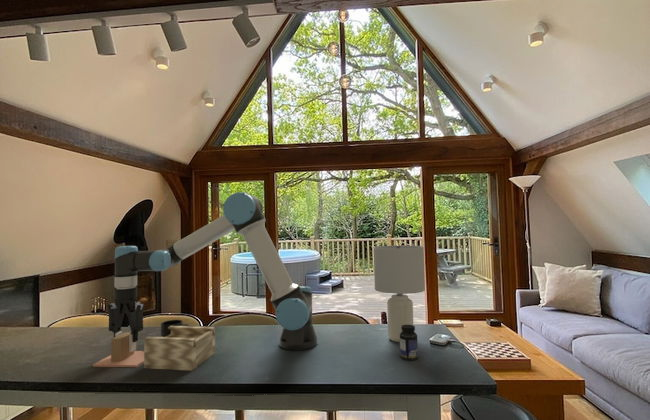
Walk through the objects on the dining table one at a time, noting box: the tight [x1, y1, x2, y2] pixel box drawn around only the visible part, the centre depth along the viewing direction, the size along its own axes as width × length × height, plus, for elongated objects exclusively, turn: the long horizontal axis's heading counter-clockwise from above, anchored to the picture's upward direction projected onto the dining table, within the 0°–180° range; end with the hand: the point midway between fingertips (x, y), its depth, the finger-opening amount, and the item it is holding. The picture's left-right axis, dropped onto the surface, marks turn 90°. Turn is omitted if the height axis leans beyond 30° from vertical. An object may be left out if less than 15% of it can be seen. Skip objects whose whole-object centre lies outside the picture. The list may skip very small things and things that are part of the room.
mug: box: [160, 319, 191, 337], centre depth 144 cm, size 8×12×10 cm
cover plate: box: [92, 331, 144, 368], centre depth 131 cm, size 16×14×9 cm
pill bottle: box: [399, 324, 419, 361], centre depth 127 cm, size 6×6×11 cm
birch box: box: [143, 325, 216, 371], centre depth 129 cm, size 18×16×10 cm
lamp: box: [373, 244, 426, 343], centre depth 148 cm, size 20×20×39 cm
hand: (125, 350), depth 132 cm, fingers open, 5 cm apart
